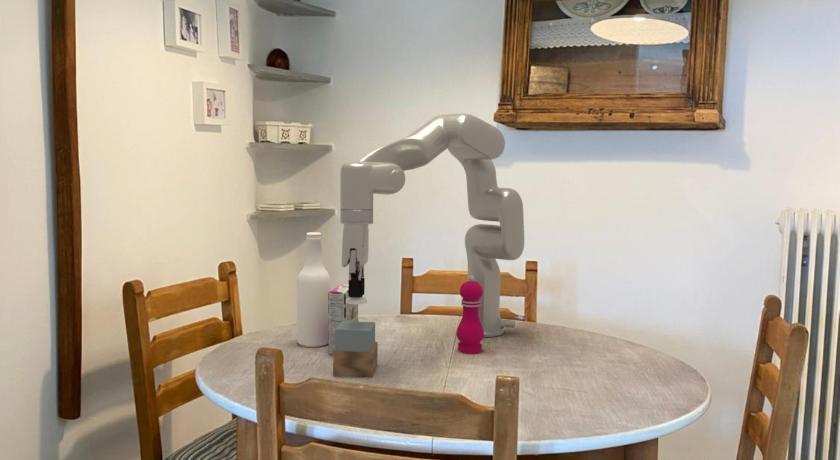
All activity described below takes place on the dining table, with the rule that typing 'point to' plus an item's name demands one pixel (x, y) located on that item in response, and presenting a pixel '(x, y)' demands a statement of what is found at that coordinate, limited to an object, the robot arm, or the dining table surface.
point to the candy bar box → (339, 311)
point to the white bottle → (313, 296)
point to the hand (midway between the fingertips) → (356, 295)
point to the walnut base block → (355, 363)
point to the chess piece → (356, 300)
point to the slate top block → (355, 336)
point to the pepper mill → (470, 318)
